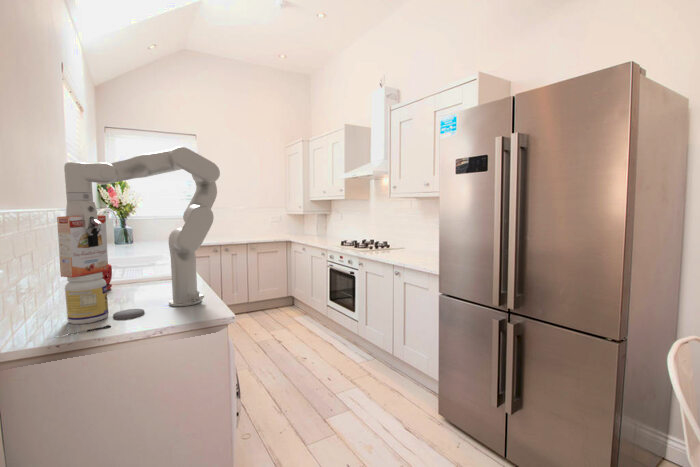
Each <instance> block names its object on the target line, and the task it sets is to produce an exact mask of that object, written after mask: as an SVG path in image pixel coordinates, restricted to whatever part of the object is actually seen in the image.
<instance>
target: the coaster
mask: <svg viewBox="0 0 700 467" xmlns="http://www.w3.org/2000/svg"><path fill="white" fill-rule="evenodd" d="M144 314H145V309H142V308H129V309H124V310H119V311H117V312H115V313H113V314H112V318H113V319H115V320H121V321H122V320H130V319H136V318H139V317H142V316H144Z"/></svg>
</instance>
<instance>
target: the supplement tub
mask: <svg viewBox="0 0 700 467" xmlns="http://www.w3.org/2000/svg"><path fill="white" fill-rule="evenodd" d="M102 277H103V272H97V273H93V274H88V275H83V276H78V277H66V278H67V279H66V284H65V285H64V293H65V294H64V295H65V306H66V316H67V322H68V323H70V324H73V325H83V324H84V325H85V324H92V323H96V322H100V321H102V320H105V319H107V317H108V316H109V303H108V290H107V286H106V281H105V280H104V279H102Z"/></svg>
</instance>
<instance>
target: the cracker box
mask: <svg viewBox="0 0 700 467" xmlns="http://www.w3.org/2000/svg"><path fill="white" fill-rule="evenodd" d="M98 221H99V222H101V224H102V225H101V228H100V231H99V235H98V246H95V247H89V246H88V236H90V235H89V234H88V232H87V231H86V230H84V229H83V223H82V217H81V216H66V215H65V216H64V215H63V216H57V217H56V222H57V239H58V253H59V255H58V256H59V269H60V277H62V278H67V277H78V276H83V275H88V274H93V273H97V272H102V271H107V270H108V264H109V263H108V262H109V261H108V259H109V258H108V257H109V256H108V239H107V235H108V234H107V216H106V215H102V214H101V215H100V214H99V215H98ZM93 225H94V224H93ZM91 231H92V230H91Z"/></svg>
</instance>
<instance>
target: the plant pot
mask: <svg viewBox="0 0 700 467" xmlns="http://www.w3.org/2000/svg"><path fill="white" fill-rule="evenodd" d="M112 269H113V266H112V265H111V264H109V263H108V270H107V271H102V272H103V277H102V279H104V280H105V281H106V286H107V291H108V290H110V289H111V288H112V287H113V284H111V281H112V277H113V271H112Z"/></svg>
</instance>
